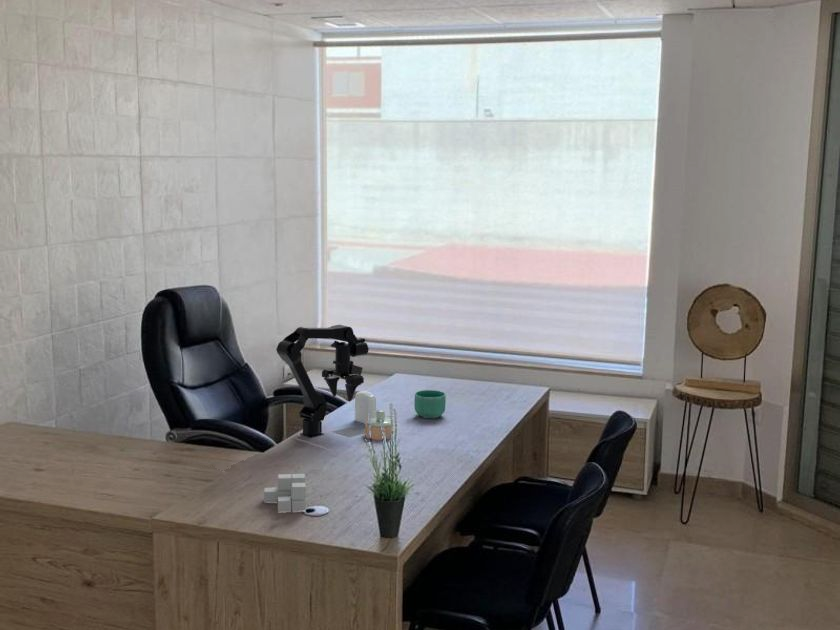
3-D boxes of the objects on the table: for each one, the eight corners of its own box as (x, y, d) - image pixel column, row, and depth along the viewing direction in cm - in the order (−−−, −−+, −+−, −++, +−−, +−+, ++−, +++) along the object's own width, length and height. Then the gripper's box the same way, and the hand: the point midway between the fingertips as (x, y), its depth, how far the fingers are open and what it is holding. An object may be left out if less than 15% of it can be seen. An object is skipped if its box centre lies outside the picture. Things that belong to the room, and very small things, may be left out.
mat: (349, 438, 351) (349, 437, 351) (331, 432, 357) (331, 431, 357) (369, 433, 358) (369, 432, 358) (351, 427, 365) (351, 426, 365)
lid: (379, 428, 346) (380, 415, 345) (361, 423, 353) (361, 410, 352) (399, 423, 353) (399, 411, 352) (380, 418, 360) (381, 406, 359)
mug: (440, 421, 376) (440, 398, 375) (410, 418, 380) (410, 395, 379) (451, 411, 392) (451, 389, 391) (422, 409, 396) (422, 386, 394)
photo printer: (353, 420, 375) (353, 390, 373) (362, 419, 378) (362, 388, 376) (368, 426, 367) (369, 395, 365) (377, 424, 370) (378, 393, 368)
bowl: (379, 442, 346) (379, 429, 345) (359, 436, 353) (359, 423, 353) (401, 436, 354) (401, 423, 353) (380, 430, 361) (380, 418, 360)
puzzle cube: (264, 500, 284) (264, 474, 283) (304, 498, 286) (304, 473, 285) (263, 514, 272) (263, 487, 271) (305, 513, 274) (305, 486, 273)
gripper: (375, 359, 357) (374, 400, 360) (343, 352, 371) (343, 391, 373) (352, 363, 350) (351, 404, 352) (321, 355, 363) (320, 395, 365)
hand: (342, 398), depth 361 cm, fingers open, 9 cm apart
